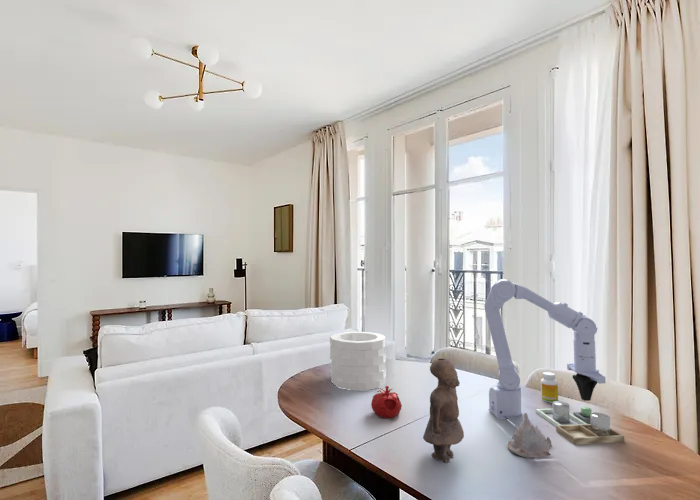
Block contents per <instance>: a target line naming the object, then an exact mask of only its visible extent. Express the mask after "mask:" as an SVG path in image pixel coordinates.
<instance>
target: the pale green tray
mask: <svg viewBox="0 0 700 500" xmlns="http://www.w3.org/2000/svg"><path fill="white" fill-rule="evenodd" d="M535 413H536V414H537V415H539V416H540V417H542V418H543V419H544V420H546V421H548V422H549V424H551V425H553V426H554V427H556V426H559V425H562V423H561V424H560V423H559V422H556V421H555V420H553V417H550V416H549V415H548V414H553V409H552V408H535ZM569 413H570V412H569ZM570 419H571V420H573V421H574V422H575V423H574V424H572V423H570V424H569V425H581V424H587V423H585V422H584V421H582V420H580V419H579V418H577V417H575V416H574V415H573V413H570Z"/></svg>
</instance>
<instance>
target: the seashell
mask: <svg viewBox="0 0 700 500" xmlns="http://www.w3.org/2000/svg"><path fill="white" fill-rule="evenodd" d="M523 417H524V419H523V420H524V421H521V423H520V424H519V426H517V425H515V426H514V430H515V431H514V433H513V435H512V439H513V440H509V441H507V444H506V445H507V448H508V450H509V451H511V453H514V454H516V455H518V456H520V457H524V458H527V459H535V458H541V457H548V456H551V453H550V452H549V451H550V449H551V447H552V446H553V445H552V440H551V438H550V437H549V436H545V435H544V434H543V433H542V432H541V430H540V429H539V428H538V425H533V424H532V423H531V422H530V421H531V420H530V419H529V417H528V413H527V412H524V414H523Z"/></svg>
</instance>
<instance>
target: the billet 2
mask: <svg viewBox="0 0 700 500" xmlns="http://www.w3.org/2000/svg"><path fill="white" fill-rule="evenodd" d="M590 416H591V432H593V433H595V434H596V435H598V436H611V434H610V428H611V416H609V415H608V414H605V413H601V412H592V413H591V414H590Z"/></svg>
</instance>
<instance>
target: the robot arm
mask: <svg viewBox="0 0 700 500" xmlns="http://www.w3.org/2000/svg"><path fill="white" fill-rule="evenodd" d="M512 298H514V299H515V300H525V301H527V302H529V303H531V304H533V305H535V306H537V307H539V308H541V309H543V310H544V311H546V312H547V314H548V317H549V318H550V319H552V320H554V321H555V322H557V323H558V324H561V325H563V326H565V327H566V328H568V329H572V330H573V363H566V370H567V371H571V372H574V373H576V374H573V375H572V379H573V381H574V382H575V384H576V386H577V390H578V391H579V395H580V396H579V397H580V398H581V400H582V401H584V402H587V401H591V400H592V396H593V393H594V390H595V388H596V385H597V384H600V385H601V384H606V380H607V379H606V376H605V375H603V374H601V373H600V370H599V369H597V363H596V357H597V356H596V340H595V337H596V336H595V335H596V334H597V332H598V327H597V325H596V323H595V321H593V320H592V319H591V318H589V317H587V316H586V315H584V313H583V312H581V311H576V310H575V309H572V308H571V307H569V304H567V303H566V302H559V301H557V302H552V301H549V300H548V299H546V298H544V297H543V296H541V295H539V294H538V293H536V292H534V291H532V290H531V289H529V288H527V287H526V286H523V285H521V284H519V283H516V282H511V281H510V280H509V279H506V278H501V279H498V280H497V281H496V282H495V283H494V284H493V285H492V286H491V288H490V291H489V293H488V295H487V298H486V300H485V302H484V305H483V307H484V313H485V315H486V321H487V323H488V328H489V331H490V336H491V341H492V343H493V349H494V352H495V356H496V360H497V365H498V370H497V374H498V381H497V382H496V385H495V386H494V387H490V388H489V391H488V402H489V403H488V404H489V405H488V406H489V407H488V411H489V412H491V414H492V415H493V416H495V417H496V418H497V419H499V420H505V419H506V420H508V419H509V418H508V417H518V416H520V415H522V390H521V389H522V387H521V385H520V384H521V378H520V376H519V370H518V368H517V367H516V366H515V364H514V362H513V359H512V355H511V351H510V348H509V343H508V339H507V336H506V335H507V334H506V332H505V328H504V324H503V323H504V322H503V319H502V314H501V311H500V310H501V309H502V307H504V305H505V303H507V302H508V301H510V300H511V299H512Z"/></svg>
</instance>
